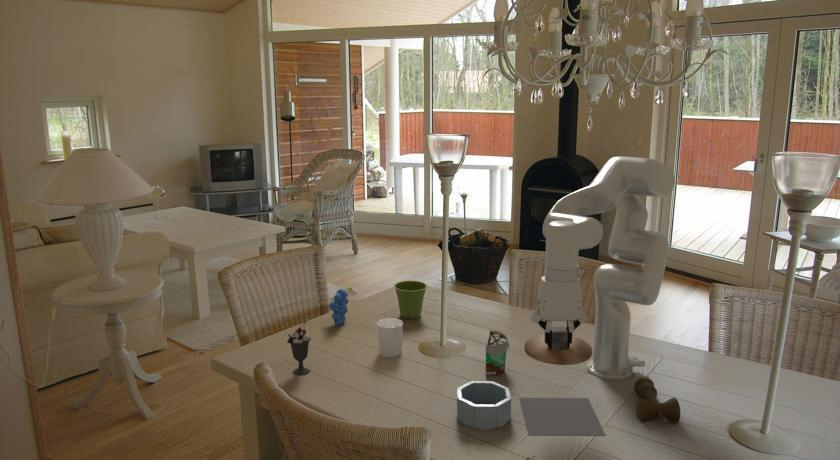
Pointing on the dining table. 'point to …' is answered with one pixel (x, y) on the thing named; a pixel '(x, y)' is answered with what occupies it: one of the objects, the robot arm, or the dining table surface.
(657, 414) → the kendama
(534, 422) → the mat
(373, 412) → the dining table surface
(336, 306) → the grapes
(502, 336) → the food container
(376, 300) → the dining table surface
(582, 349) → the lid
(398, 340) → the white cup
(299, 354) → the sundae
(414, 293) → the plant pot
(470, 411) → the bowl
